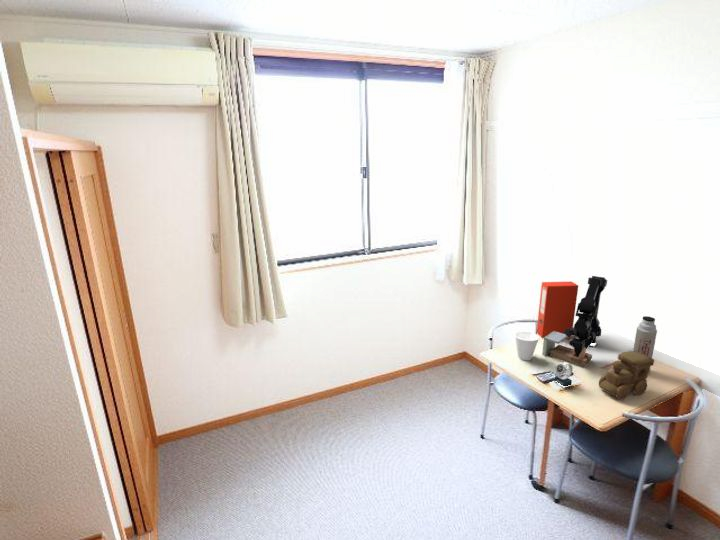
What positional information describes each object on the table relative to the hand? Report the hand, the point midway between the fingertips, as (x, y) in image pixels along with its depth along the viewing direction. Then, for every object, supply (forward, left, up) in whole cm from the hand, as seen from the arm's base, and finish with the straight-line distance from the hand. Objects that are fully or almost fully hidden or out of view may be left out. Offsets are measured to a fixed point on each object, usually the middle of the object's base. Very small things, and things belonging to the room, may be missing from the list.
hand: (580, 353), depth 213 cm
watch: (+28, +3, -5) cm, 29 cm away
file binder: (-23, -23, -5) cm, 33 cm away
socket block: (0, -4, -4) cm, 6 cm away
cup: (+15, -22, -5) cm, 27 cm away
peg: (0, 0, -4) cm, 5 cm away
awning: (0, -13, -5) cm, 14 cm away
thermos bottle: (-11, +24, -5) cm, 27 cm away
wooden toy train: (+15, +24, -5) cm, 29 cm away
